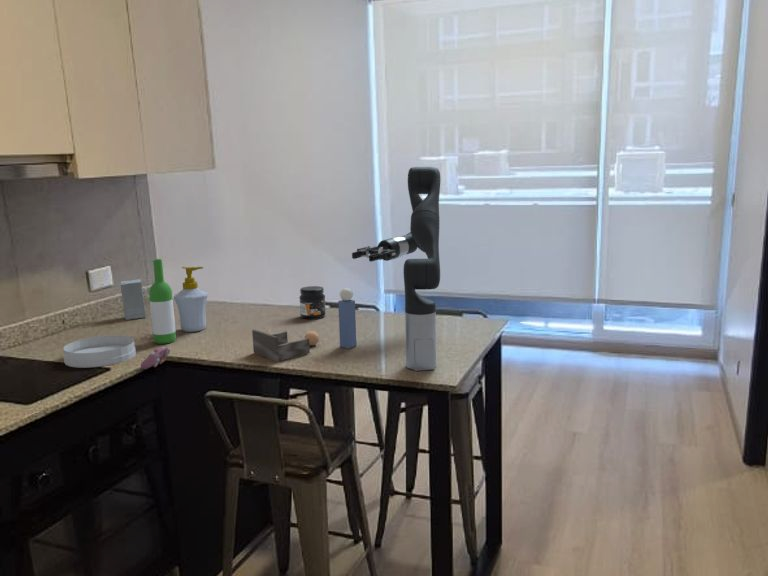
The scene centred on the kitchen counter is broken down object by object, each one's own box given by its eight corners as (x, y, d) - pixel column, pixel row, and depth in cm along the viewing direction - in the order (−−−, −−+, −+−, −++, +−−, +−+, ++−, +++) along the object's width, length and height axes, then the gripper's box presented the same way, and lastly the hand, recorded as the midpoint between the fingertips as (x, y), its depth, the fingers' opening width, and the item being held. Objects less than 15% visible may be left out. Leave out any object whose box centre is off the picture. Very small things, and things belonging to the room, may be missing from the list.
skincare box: (144, 314, 276) (141, 278, 272) (146, 318, 269) (142, 281, 266) (123, 317, 272) (119, 280, 269) (124, 320, 266) (120, 283, 263)
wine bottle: (151, 345, 228) (142, 261, 222) (157, 339, 235) (149, 258, 230) (173, 344, 228) (165, 260, 223) (178, 338, 236) (171, 257, 230)
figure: (349, 343, 223) (347, 286, 219) (357, 346, 220) (355, 287, 216) (339, 346, 220) (336, 288, 216) (347, 348, 217) (345, 289, 213)
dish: (72, 352, 223) (70, 338, 222) (139, 346, 228) (138, 332, 227) (57, 371, 201) (55, 356, 200) (131, 364, 207) (130, 349, 206)
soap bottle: (204, 333, 242) (199, 269, 237) (171, 334, 242) (165, 269, 237) (214, 325, 254) (210, 263, 249) (183, 325, 255) (177, 264, 250)
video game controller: (150, 375, 200) (158, 356, 198) (138, 368, 200) (145, 349, 198) (167, 365, 209) (174, 347, 207) (155, 358, 210) (162, 340, 208)
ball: (320, 346, 220) (319, 332, 219) (305, 348, 219) (304, 333, 218) (318, 343, 225) (317, 329, 224) (304, 344, 224) (303, 330, 223)
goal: (286, 345, 223) (284, 322, 222) (309, 353, 213) (308, 329, 212) (253, 353, 215) (252, 330, 213) (276, 361, 205) (275, 337, 203)
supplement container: (298, 320, 259) (297, 291, 257) (301, 314, 270) (300, 286, 267) (324, 319, 259) (323, 290, 257) (326, 313, 270) (325, 285, 267)
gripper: (378, 236, 236) (346, 244, 225) (407, 239, 226) (374, 248, 215) (380, 256, 238) (348, 265, 227) (408, 260, 228) (376, 270, 217)
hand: (361, 257), depth 221 cm, fingers open, 8 cm apart
